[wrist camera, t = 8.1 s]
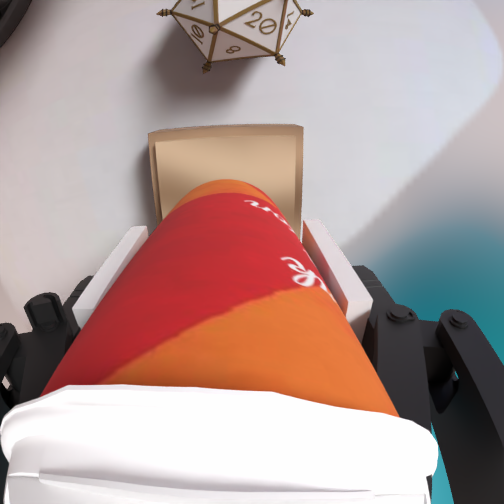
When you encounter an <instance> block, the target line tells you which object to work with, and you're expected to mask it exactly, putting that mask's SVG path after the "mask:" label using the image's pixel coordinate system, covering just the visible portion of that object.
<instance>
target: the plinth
mask: <svg viewBox="0 0 504 504" xmlns="http://www.w3.org/2000/svg"><path fill="white" fill-rule="evenodd" d="M148 141H149V154H150V165H151V175H152V185H153V194H154V202H155V211H156V218H157V226H158V225H159V224H160V223H161V222H162V220H163V219H164V218H165V217H166V216H167V215H168V213H169V212H170V211H171V210H172V209H173V208H174V206H175V205H176V204H177V203H178V202H179V201H180V200H181V199H182V198H183V197H184V196H185V195H186V194H188V193H189V192H190V191H191V190H193V189H194V188H196V187H198V186H200V185H202V184H204V183H207V182H210V181H214V180H220V179H233V180H239V181H243V182H246V183H249V184H251V185H253V186H255V187H257V188H259V189H260V190H262V191H263V192H264V193H265V194H267V195H268V196H269V197H270V198H271V200H272V201H273V202H274V203H275V204H276V206H277V207H278V208H279V210H280V211H281V213H282V214H283V215H284V217H285V218H286V220H287V221H288V223H289V225H290V226H291V228H292V229H293V231H294V232H295V234H296V235H297V237H298V239H299V240H300V230H301V207H302V176H303V127H302V126H298V125H295V124H239V125H215V126H199V127H185V128H174V129H163V130H158V131H155V132H152V133H149V134H148Z"/></svg>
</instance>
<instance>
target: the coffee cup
mask: <svg viewBox="0 0 504 504" xmlns="http://www.w3.org/2000/svg"><path fill="white" fill-rule="evenodd" d="M0 435H1V446H2V450H3V453H4V455H5V457H6V459H7V460H8V462H9V467H8V472H7V478H6V484H5V491H4V504H431V502H430V496H429V490H428V485H427V480H426V476H429V475H431V474H432V476H433V474H434V472H435V469H436V467H437V458H438V445H437V443H436V441H435V439H434V438H433V436H432V435H431V433H430V432H429V431H428V430H427V429H425V428H423V427H421V426H420V425H418V424H416V423H415V422H413V421H410V420H406V419H402V418H400V417H399V415H398V413H397V411H396V409H395V407H394V405H393V403H392V401H391V399H390V397H389V396H388V394H387V392H386V390H385V388H384V386H383V384H382V382H381V380H380V379H379V377H378V375H377V373H376V371H375V369H374V368H373V366H372V364H371V362H370V360H369V358H368V357H367V355H366V353H365V351H364V349H363V348H362V346H361V344H360V342H359V340H358V339H357V337H356V335H355V333H354V331H353V330H352V328H351V326H350V324H349V323H348V321H347V319H346V317H345V316H344V314H343V312H342V310H341V309H340V307H339V305H338V304H337V302H336V300H335V298H334V297H333V295H332V293H331V292H330V290H329V288H328V286H327V285H326V283H325V281H324V280H323V278H322V276H321V275H320V273H319V271H318V270H317V268H316V266H315V265H314V263H313V261H312V260H311V258H310V256H309V255H308V253H307V252H306V250H305V248H304V247H303V245H302V243H301V242H300V240H299V239H298V237H297V235H296V234H295V232H294V231H293V229H292V228H291V226H290V225H289V223H288V221H287V220H286V218H285V217H284V215H283V214H282V213H281V211H280V210H279V208H278V207H277V206H276V204H275V203H274V202H273V201H272V200H271V198H270V197H269V196H268V195H267V194H265V193H264V192H263V191H262V190H260V189H259V188H257V187H255V186H253V185H251V184H249V183H246V182H243V181H239V180H233V179H220V180H214V181H210V182H207V183H204V184H202V185H200V186H198V187H196V188H194V189H193V190H191V191H190V192H189V193H188V194H186V195H185V196H184V197H183V198H182V199H181V200H180V201H179V202H178V203H177V204H176V205H175V206H174V208H173V209H172V210H171V211H170V212H169V213H168V215H167V216H166V217H165V218H164V219H163V220H162V222H161V223H160V224H159V225H158V226H157V228H156V229H155V230H154V231H153V233H152V234H151V235H150V236H149V238H148V239H147V240H146V241H145V243H144V244H143V245H142V246H141V248H140V249H139V250H138V252H137V253H136V254H135V255H134V257H133V258H132V259H131V261H130V262H129V263H128V265H127V266H126V267H125V269H124V270H123V271H122V273H121V274H120V275H119V277H118V278H117V279H116V281H115V282H114V284H113V285H112V286H111V288H110V289H109V290H108V292H107V293H106V295H105V296H104V297H103V299H102V300H101V302H100V303H99V305H98V306H97V307H96V309H95V310H94V312H93V313H92V315H91V316H90V318H89V319H88V321H87V322H86V324H85V325H84V326H83V328H82V329H81V331H80V332H79V334H78V336H77V337H76V339H75V340H74V342H73V343H72V345H71V346H70V348H69V349H68V351H67V352H66V354H65V356H64V357H63V359H62V360H61V362H60V364H59V365H58V367H57V369H56V370H55V372H54V373H53V375H52V377H51V378H50V380H49V382H48V383H47V385H46V387H45V389H44V390H43V392H42V394H41V395H40V397H39V398H37V399H34V400H31V401H28V402H25V403H22V404H19V405H16V406H15V407H14V408H12V409H11V410H10V411H9V412H8V413H7V414H6V415H5V416H4V418H3V420H2V424H1V427H0Z"/></svg>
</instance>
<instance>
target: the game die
mask: <svg viewBox="0 0 504 504" xmlns="http://www.w3.org/2000/svg"><path fill="white" fill-rule="evenodd" d="M312 14H314V13H313V12H311V11H310V10H306V9H304V10H301V8H300V6H299V4H298V3H297V1H296V0H179V1H178V2H177V3H176V4H175V6H174V7H173V8H172V9H171V10H168V9H165V10H163V9H162V10H161V11H160V12H158V13H157V15H160V16H162V17H163V16H167V15H172V16H173V17H174V18H175V20H176V21H177V22H178V23H179V25H180V26H181V27H182V28H183V30H184V31H185V32H186V34H187V35H188V36H189V37H190V39H191V40H192V41H193V43H194V44H195V45H196V47H197V48H198V49H199V51H200V52H201V53H202V55H203V56H204V57H205V59H206V60H207V62H206V63H205V64H204V66H203V67H202V68H203V74H204V73H206V72H208V71H210V68H211V64H212V63H214V62H221V61H229V60H237V59H246V58H256V57H268V56H275V60H276V61H277V63H278V64H281V65H284V66H285V59H286V58H284V57H283V55H280V54H279V51H280V50H281V48H282V46H283V44H284V43H285V41H286V39H287V37H288V36H289V34H290V32H291V31H292V29H293V27H294V25H295V24H296V22H297V20H298V19H299V17H300V15H304V16H308V17H309V16H310V15H312Z"/></svg>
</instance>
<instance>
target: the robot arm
mask: <svg viewBox="0 0 504 504" xmlns="http://www.w3.org/2000/svg"><path fill="white" fill-rule="evenodd" d="M30 2H31V0H0V47H1V46H2V45H3V43H4V42H5V41H6V40H7V39H8V37H9V36H10V35H11V33H12V32H13V30H14V29H15V28H16V26H17V25H18V23H19V22H20V20H21V18H22V17H23V15H24V13H25V11H26V10H27V8H28V6H29V4H30ZM148 238H149V237H148V231H147V226H132V227H131V228H130V229H129V231H128V232H127V233H126V234H125V236H124V237H123V238H122V240H121V241H120V242H119V243H118V245H117V246H116V247H115V249H114V250H113V251H112V253H111V254H110V255H109V257H108V258H107V259H106V261H105V262H104V263H103V265H102V266H101V267H100V269H99V270H98V272H97V273H96V274H95V276H88V277H86V278H85V279H84V280H82V281H81V282H80V283H79V284H78V285H77V287H76V288H75V289H74V291H73V292H72V294H71V295H70V297H69V298H68V299H67V300H66V302H65V303H64V305H63V306H62V304H61V301H60V298H59V296H58V295H57V294H56V293H51V292H49V293H42V294H39V295H37V296H35V297H33V298H31V299H30V300H29V301H28V302H27V303H26V304H25V306H24V310H25V312H26V314H27V317H28V319H29V321H30V323H31V326H32V328H33V330H32V332H28V333H22V334H18V333H17V331H16V329H15V327H14V325H12V324H11V323H1V324H0V427H1V424H2V420H3V418H4V416H5V415H6V414H7V413H8V412H9V411H10V410H11V409H12V408H14V407H15V406H16V405H19V404H22V403H25V402H28V401H31V400H34V399H37V398H39V397H40V395H41V394H42V392H43V390H44V389H45V387H46V385H47V383H48V382H49V380H50V378H51V377H52V375H53V373H54V372H55V370H56V369H57V367H58V365H59V364H60V362H61V360H62V359H63V357H64V356H65V354H66V352H67V351H68V349H69V348H70V346H71V345H72V343H73V342H74V340H75V339H76V337H77V336H78V334H79V332H80V331H81V329H82V328H83V326H84V325H85V324H86V322H87V321H88V319H89V318H90V316H91V315H92V313H93V312H94V310H95V309H96V307H97V306H98V305H99V303H100V302H101V300H102V299H103V297H104V296H105V295H106V293H107V292H108V290H109V289H110V288H111V286H112V285H113V284H114V282H115V281H116V279H117V278H118V277H119V275H120V274H121V273H122V271H123V270H124V269H125V267H126V266H127V265H128V263H129V262H130V261H131V259H132V258H133V257H134V255H135V254H136V253H137V252H138V250H139V249H140V248H141V246H142V245H143V244H144V243H145V241H146V240H147V239H148ZM302 245H303V247H304V248H305V250H306V252H307V253H308V255H309V256H310V258H311V260H312V261H313V263H314V265H315V266H316V268H317V270H318V271H319V273H320V275H321V276H322V278H323V280H324V281H325V283H326V285H327V286H328V288H329V290H330V292H331V293H332V295H333V297H334V298H335V300H336V302H337V304H338V305H339V307H340V309H341V310H342V312H343V314H344V316H345V317H346V319H347V321H348V323H349V324H350V326H351V328H352V330H353V331H354V333H355V335H356V337H357V339H358V340H359V342H360V344H361V346H362V348H363V349H364V351H365V353H366V355H367V357H368V358H369V360H370V362H371V364H372V366H373V368H374V369H375V371H376V373H377V375H378V377H379V379H380V380H381V382H382V384H383V386H384V388H385V390H386V392H387V394H388V396H389V397H390V399H391V401H392V403H393V405H394V407H395V409H396V411H397V413H398V415H399V417H400V418H402V419H406V420H410V421H413V422H415V423H416V424H418V425H420V426H421V427H423V428H425V429H427V430H428V431H429V432H430V433H431V422H432V425H433V429H434V432H435V435H436V438H437V441H438V445H439V448H440V451H441V455H442V458H443V462H444V465H445V469H446V473H447V476H448V480H449V484H450V488H451V492H452V497H453V501H454V504H504V365H503V364H502V362H501V361H500V359H499V357H498V356H497V354H496V352H495V351H494V349H493V348H492V346H491V345H490V344H489V342H488V340H487V339H486V337H485V335H484V334H483V332H482V331H481V329H480V328H479V327H478V325H477V324H476V322H475V321H474V320H473V318H472V317H471V316H469V315H468V314H466V313H465V312H463V311H460V310H453V309H450V310H446V311H444V312H443V313H442V314H441V317H440V319H439V322H435V321H425V320H418V317H417V315H416V313H415V312H414V311H412V309H410V308H408V307H406V306H404V305H399V304H395V302H394V301H393V299H392V298H391V297H390V295H389V293H388V292H387V291H386V289H385V288H384V287H382V284H381V282H380V281H379V280H378V279H377V277H376V276H375V274H374V273H373V272H372V271H371V270H369V269H368V268H366V267H365V266H351V265H350V263H349V262H348V260H347V259H346V257H345V256H344V254H343V253H342V251H341V250H340V248H339V247H338V245H337V244H336V242H335V241H334V240H333V238H332V237H331V235H330V234H329V232H328V231H327V229H326V228H325V227H324V225H323V224H322V222H321V221H320V219H306V220H303V238H302ZM455 371H456V373H457V375H458V378H459V379H458V378H457V377H456V375H455ZM4 376H5V377H6V379H7V380H8V382H9V383H10V386H9V388H8V389H6V388H5V386H4V385H3V383H2V380H3V378H4ZM431 435H432V433H431ZM8 467H9V462H8V460H7V459H6V457H5V455H4V453H3V450H2V446H1V435H0V504H4V491H5V484H6V478H7V472H8ZM426 480H427V485H428V490H429V496H430V502H431V493H432V474H431V475H429V476H426Z"/></svg>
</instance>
